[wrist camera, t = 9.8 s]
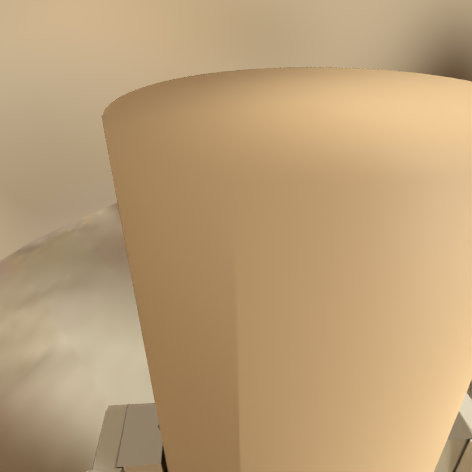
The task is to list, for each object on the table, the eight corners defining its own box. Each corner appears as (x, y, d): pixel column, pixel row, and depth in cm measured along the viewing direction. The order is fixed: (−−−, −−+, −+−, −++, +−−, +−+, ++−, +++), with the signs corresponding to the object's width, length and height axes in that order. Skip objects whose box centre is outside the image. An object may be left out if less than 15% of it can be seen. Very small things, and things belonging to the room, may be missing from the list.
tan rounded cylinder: (270, 481, 19) (288, 59, 10) (391, 599, 15) (616, 95, 6) (163, 597, 15) (27, 104, 6) (287, 790, 11) (434, 274, 2)
